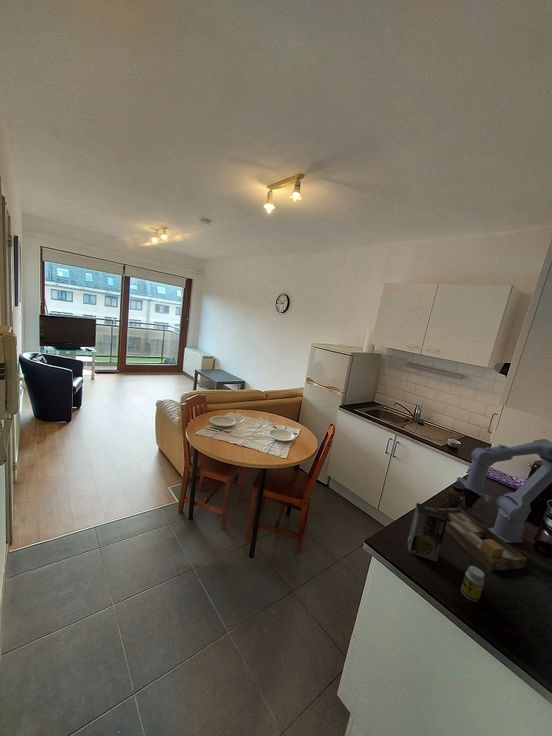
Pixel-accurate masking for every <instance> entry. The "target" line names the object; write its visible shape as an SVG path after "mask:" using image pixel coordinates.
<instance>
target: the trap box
mask: <svg viewBox="0 0 552 736" xmlns="http://www.w3.org/2000/svg"><path fill="white" fill-rule="evenodd" d="M437 509H440V510H443V511H444V514H445V516H446V519H447V524H446V528H445V532H446V533H448V534H449V536H451V537H452V538H453V539H454V540H455V541H457V543H458V544H459V545H461V547H463V548H464V549H465V550H466V551H467V552H468V553H469V554H470V555H472V556H473V557H474V559H476V560H477V561H478V562H479V563H481V565H483V566H484V567H485V568H486V569H487V570H488V571H489V572H493V571H494V572H495V571H496V572H497V571H507V570H517V569H524V568H525V566H526V563H527V561H528V558H527V557H526V556H524V554H521V553H520V552H519V551H517V550H516V549H514V548H513V546H511V545H510V544H509V543H506V542H504V541H503V540H502V539H500V538H499V537H498V536H496V535H495V534H494V533H492V532H491V531H490V530H488V528H487V527H486V526H485V525H483V524H482V523H481V522H479V521H478V520H477V519H475V518H474V517H473V516H472V515H470V514H469V513H468V512H466V511H465V510H464V509H462V507H461V508H448V507H446V508H444V507H443V508H437ZM448 520H449V521H448ZM481 538H484V540H487V539H492V540H494V541H495V542H496V543H497V544H499V545H500V546H501V547H502V548H504V551H503V554H502V557H501V558H500V559H492V558H491V557H489V556H488V555H487V554H486V553H485V552H483V551H482V550H481V549H480V547H481V543H482V540H483V539H481Z"/></svg>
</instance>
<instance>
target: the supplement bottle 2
mask: <svg viewBox="0 0 552 736" xmlns="http://www.w3.org/2000/svg"><path fill="white" fill-rule="evenodd" d="M484 579H485V573H484V572H483V571H482V569H480V568H479V567H477V566H474V565H469V566H468V568H467V570H466V571H465V573H464V577H463V581H462V584H461V588H460V591H461V594H462V595H463V596H464V597H465V598H466V599H468V600H469V601H471V602H479V601H480V598H481V595H482V591H483V588H484V585H485V582H484Z"/></svg>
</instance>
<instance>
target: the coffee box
mask: <svg viewBox="0 0 552 736" xmlns="http://www.w3.org/2000/svg"><path fill="white" fill-rule="evenodd" d="M447 521H448V519H447V518H446V516H445V514H444V511H443V510H440V509H438V508H436V507H433V506H429V505H425V504H423V503H419V502H416V505H415V509H414V514H413V517H412V521H411V525H410V530H409V534H408V537H407V547H408V551H409V552H408V553H410V554H413V555H415V556H418V557H421V558H423V559H424V558H425V559H427V560H430V561H432V562H435V563H436V562H437V563H438V559H439V555H440V552H441V546H442V543H443V539H444V536H445V532H446V531H445V528H446V524H447Z"/></svg>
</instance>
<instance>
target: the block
mask: <svg viewBox="0 0 552 736" xmlns="http://www.w3.org/2000/svg"><path fill="white" fill-rule="evenodd" d="M480 549H481V550H482V551H483V552H485V553H486V554H487V555H488V556H489V557H491V558H492V559H500V558H501V557H502V554H503V551H504V548H502V547H501V546H500V545H499V544H497V543H496V542H495V541H494V540H492V539H487V540H486V539H482V543H481V547H480Z"/></svg>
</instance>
